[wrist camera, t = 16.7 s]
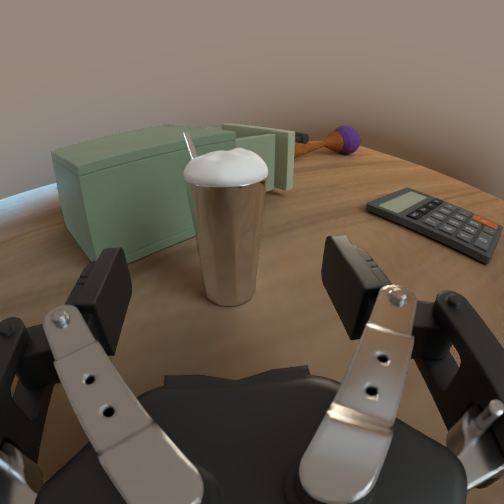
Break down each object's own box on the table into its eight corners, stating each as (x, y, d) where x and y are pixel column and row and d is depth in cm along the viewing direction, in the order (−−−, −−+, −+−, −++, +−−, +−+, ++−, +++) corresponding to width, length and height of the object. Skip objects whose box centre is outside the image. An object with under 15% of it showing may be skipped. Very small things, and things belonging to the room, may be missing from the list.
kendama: (268, 135, 52) (342, 124, 61) (274, 168, 54) (345, 151, 63) (290, 134, 47) (364, 124, 56) (295, 169, 49) (367, 152, 58)
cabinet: (171, 191, 38) (165, 124, 34) (237, 219, 30) (236, 131, 26) (66, 227, 29) (50, 151, 25) (101, 275, 22) (76, 165, 17)
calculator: (490, 256, 22) (366, 201, 32) (487, 264, 22) (365, 209, 33) (503, 225, 28) (407, 185, 38) (501, 232, 29) (406, 192, 39)
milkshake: (219, 261, 24) (212, 126, 18) (278, 287, 21) (285, 133, 16) (173, 289, 20) (154, 138, 15) (234, 324, 18) (227, 145, 13)
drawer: (259, 163, 46) (260, 119, 43) (322, 179, 39) (325, 128, 36) (146, 193, 35) (140, 137, 31) (201, 221, 28) (197, 146, 24)
